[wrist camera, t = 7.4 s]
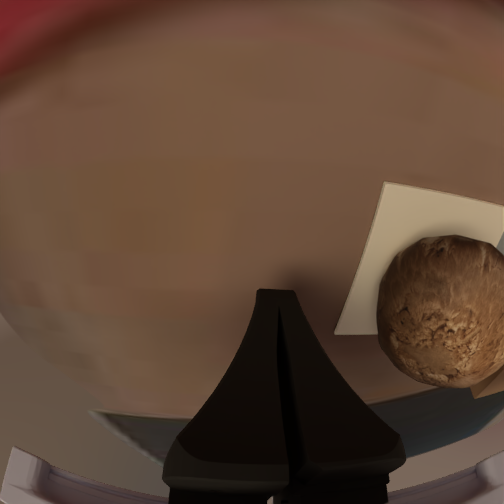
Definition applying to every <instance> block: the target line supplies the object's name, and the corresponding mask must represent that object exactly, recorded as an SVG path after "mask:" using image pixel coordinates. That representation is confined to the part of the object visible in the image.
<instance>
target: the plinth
mask: <svg viewBox="0 0 504 504" xmlns="http://www.w3.org/2000/svg"><path fill="white" fill-rule="evenodd" d="M470 389H471V391H472V394H473V397H474V399H476V398H480V397H483V396H487V395H490V394H494V393H497V392H500V391H503V390H504V364H503V366H502V367H501V368H499V369H498V370H497V371H496V372H494V373H493V374H491V375H490V376H488V377H486V378H485V379H483V380H482V381H480V382H479V383H477V384H475V385H474V386H470Z"/></svg>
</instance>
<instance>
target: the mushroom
mask: <svg viewBox="0 0 504 504" xmlns="http://www.w3.org/2000/svg"><path fill="white" fill-rule="evenodd" d="M376 322H377V331H378V339H379V343H380V346H381V349H382V350H383V351H384V352H385V354H386V355H387V356H388V358H389V359H390V360H391V362H392V363H393V364H394V365H395V366H396V367H397V368H398V369H399V370H400V371H401V372H403V373H405V374H406V375H408V376H410V377H411V378H413V379H415V380H416V381H418V382H422V383H425V384H429V385H433V386H438V387H443V388H466V387H470V386H474V385H475V384H477V383H479V382H480V381H482V380H483V379H485V378H486V377H488V376H490V375H491V374H493V373H494V372H496V371H497V370H498V369H499V368H501V367H502V366H503V364H504V255H503V254H502V253H501V252H500V251H499V250H498V249H497V248H495V247H494V246H493V245H492V244H491V243H488V242H484V241H480V240H476V239H472V238H468V237H464V236H460V235H456V234H455V235H446V236H436V237H426V238H422V239H420V240H419V241H417V242H415V243H414V244H412V245H410V246H409V247H407V248H405V249H404V250H402V251H400V252H398V253H397V254H396V255H395V256H394V258H393V260H392V262H391V263H390V265H389V267H388V268H387V270H386V272H385V274H384V275H383V277H382V279H381V282H380V285H379V293H378V301H377V310H376Z"/></svg>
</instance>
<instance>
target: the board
mask: <svg viewBox="0 0 504 504" xmlns="http://www.w3.org/2000/svg"><path fill="white" fill-rule="evenodd" d="M455 234H456V235H460V236H464V237H468V238H472V239H476V240H480V241H484V242H488V243H491V244H492V245H493V246H494V247H495V248H497V249H498V250H499V251H500V252H501V253H502V254H503V255H504V206H503V205H499V204H495V203H491V202H487V201H483V200H479V199H474V198H470V197H466V196H461V195H456V194H452V193H447V192H442V191H437V190H432V189H427V188H421V187H416V186H410V185H405V184H399V183H393V182H386V181H384V183H383V187H382V190H381V194H380V198H379V201H378V205H377V208H376V212H375V215H374V219H373V222H372V225H371V229H370V232H369V235H368V238H367V242H366V245H365V248H364V251H363V254H362V257H361V260H360V263H359V266H358V269H357V272H356V275H355V277H354V280H353V283H352V286H351V289H350V292H349V294H348V297H347V300H346V302H345V305H344V308H343V310H342V313H341V316H340V318H339V321H338V323H337V326H336V328H335V331H334V334H335V335H368V334H378V331H377V322H376V310H377V301H378V293H379V285H380V282H381V279H382V277H383V275H384V274H385V272H386V270H387V268H388V267H389V265H390V263H391V262H392V260H393V258H394V256H395V255H396V254H397V253H398V252H400V251H402V250H404V249H405V248H407V247H409V246H410V245H412V244H414V243H415V242H417V241H419V240H420V239H422V238H426V237H436V236H446V235H455Z"/></svg>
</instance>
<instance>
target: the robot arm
mask: <svg viewBox="0 0 504 504" xmlns="http://www.w3.org/2000/svg"><path fill="white" fill-rule="evenodd" d="M405 461H406V455H405V450H404V446H403V443H402V441H401V438H400V435H399V434H398V433H397V432H395V431H394V430H393V429H392V428H391V427H389V426H388V425H387V424H386V423H385V422H384V421H383V420H381V419H380V418H379V417H378V416H377V415H376V414H375V413H374V412H373V411H372V410H371V409H370V408H369V407H368V406H367V405H366V404H365V403H364V402H363V401H362V399H361V398H360V397H359V396H358V395H357V394H356V393H355V392H354V391H353V389H352V388H351V387H350V386H349V385H348V383H347V382H346V381H345V380H344V378H343V377H342V376H341V374H340V373H339V372H338V370H337V369H336V368H335V366H334V365H333V363H332V362H331V360H330V359H329V357H328V356H327V354H326V353H325V351H324V349H323V348H322V346H321V345H320V343H319V341H318V339H317V338H316V336H315V334H314V332H313V330H312V328H311V327H310V325H309V323H308V321H307V319H306V317H305V315H304V312H303V310H302V308H301V306H300V303H299V301H298V299H297V296H296V293H295V292H294V291H293V290H276V289H259V290H257V294H256V303H255V307H254V311H253V314H252V318H251V320H250V323H249V326H248V328H247V331H246V334H245V336H244V338H243V340H242V343H241V345H240V347H239V349H238V351H237V353H236V355H235V357H234V359H233V361H232V363H231V364H230V366H229V368H228V370H227V371H226V373H225V375H224V376H223V378H222V379H221V381H220V383H219V384H218V386H217V387H216V389H215V390H214V392H213V393H212V394H211V396H210V397H209V398H208V400H207V401H206V402H205V404H204V405H203V406H202V408H201V409H200V410H199V412H198V413H197V414H196V415H195V416H194V418H193V419H192V420H191V421H190V422H189V423H188V424H187V426H186V427H185V428H184V429H183V430H182V431H181V432H180V433H179V434H178V436H177V437H176V439H175V441H174V443H173V444H172V446H171V448H170V450H169V452H168V454H167V457H166V459H165V463H164V467H163V475H162V480H163V481H164V482H165V483H166V484H167V485H168V486H169V487H170V493H169V498H165V497H160V496H154V495H150V494H145V493H140V492H136V491H131V490H127V489H123V488H119V487H115V486H112V485H108V484H105V483H101V482H98V481H95V480H91V479H88V478H85V477H82V476H79V475H76V474H73V473H71V472H68V471H65V470H63V469H60V468H57V467H55V466H52V465H50V464H49V463H48V462H47V461H45V460H43V459H41V458H40V457H38V456H35V455H33V454H31V453H29V452H26V451H24V450H22V449H20V448H18V447H16V446H14V447H13V448H12V452H11V455H10V459H9V462H8V466H7V469H6V473H5V477H4V481H3V486H2V489H1V494H0V500H1V501H3V502H4V503H6V504H267V500H268V499H269V498H270V497H272V504H504V450H503V451H501V452H499V453H497V454H494V455H492V456H490V457H488V458H486V459H484V460H483V461H480V462H479V463H477V464H476V465H475V466H472V467H470V468H467V469H465V470H462V471H460V472H457V473H454V474H451V475H448V476H446V477H442V478H439V479H437V480H433V481H430V482H427V483H423V484H420V485H416V486H412V487H409V488H405V489H401V490H397V491H393V492H388V493H387V486H386V484H388V483H389V481H390V480H389V473H390V472H392V471H394V470H396V469H397V468H399V467H401V466H402V465H403V464H404V463H405Z"/></svg>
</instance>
